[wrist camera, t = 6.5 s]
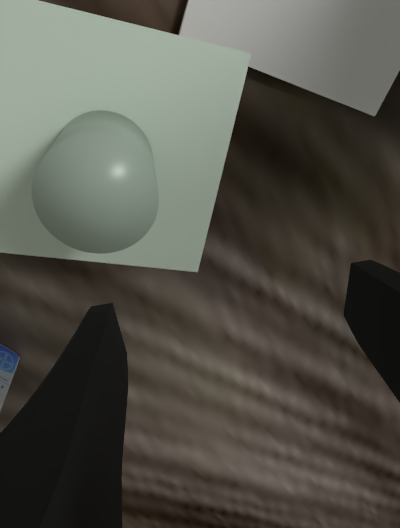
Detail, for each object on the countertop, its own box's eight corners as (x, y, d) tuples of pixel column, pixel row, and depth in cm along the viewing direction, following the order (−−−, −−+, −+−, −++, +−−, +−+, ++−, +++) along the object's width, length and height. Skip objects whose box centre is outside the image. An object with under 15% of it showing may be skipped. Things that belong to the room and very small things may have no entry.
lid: (245, 52, 14) (291, 62, 10) (195, 263, 18) (212, 329, 14) (-32, -17, 12) (-119, -41, 8) (-12, 241, 16) (-59, 311, 12)
